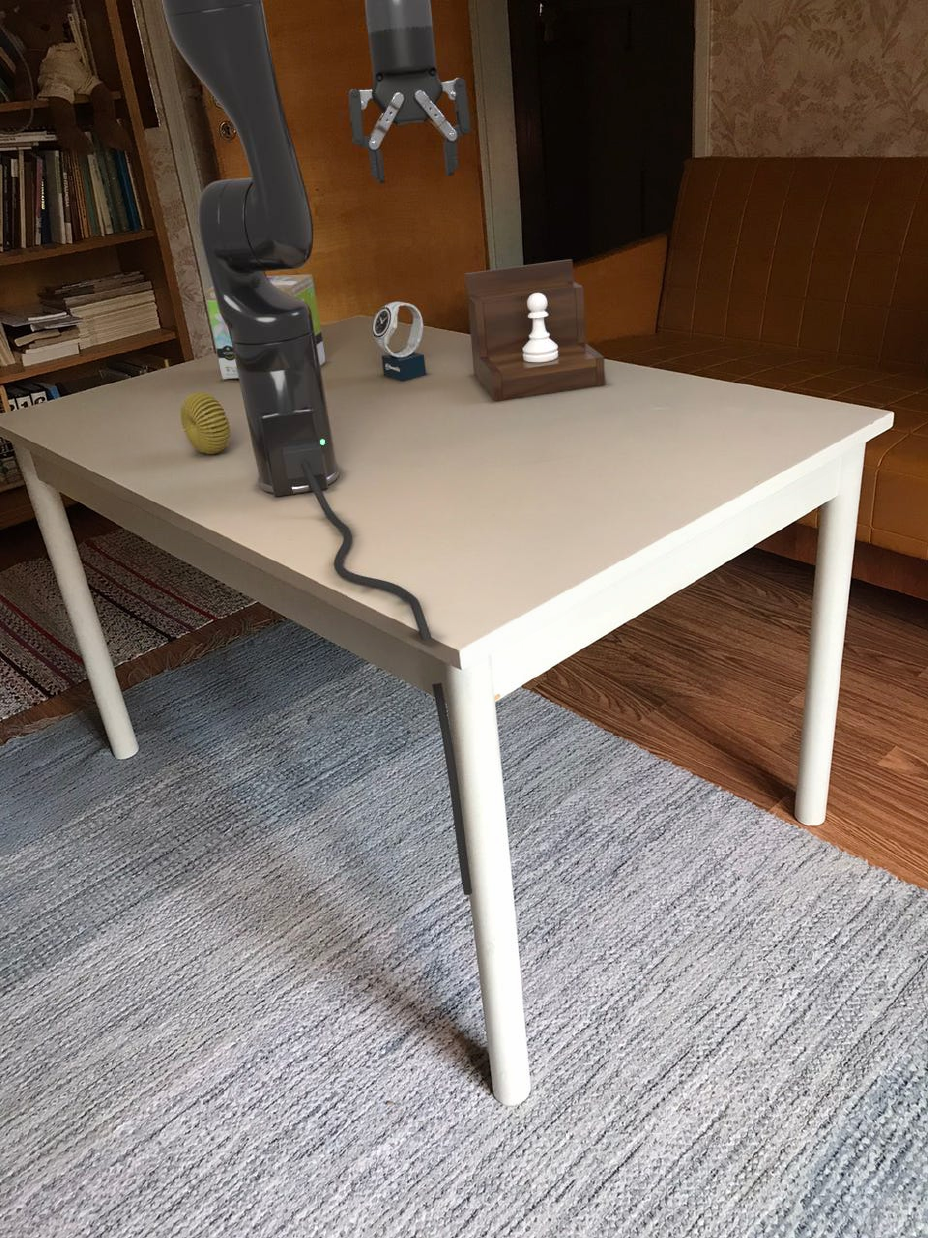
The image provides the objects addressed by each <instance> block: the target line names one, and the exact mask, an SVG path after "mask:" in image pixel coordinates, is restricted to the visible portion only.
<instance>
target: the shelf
mask: <svg viewBox="0 0 928 1238" xmlns="http://www.w3.org/2000/svg"><path fill="white" fill-rule="evenodd" d="M573 261H574V260H573V259H571V258H570V259H562V260H555V261H547V262H540V263H534V264H533V263H531V264H524V265H518V266H517V265H516V266H509V267H502V268H496V269H488V270H480V271H473V272H465V273H464V278H465V279H464V280H465V290H466V300H467V310H468V312H467V313H468V322H469V323H468V324H469V331H470V333H469V334H470V343H471V344H470V345H471V353H472V355H471V356H472V363H473V364H472V366H473V374H474V375H473V376H474V377H475V378H476V380H477V381H478V382H479V383H480V384H481V386H482V387H483V388H484V390H485V391H486V392H487V393H488V395H489V396H490V397H491V399H492V400H493V401H494V402H500V401H507V400H514V399H521V398H526V397H533V396H539V395H547V394H553V393H561V392H567V391H574V390H581V389H586V388H587V389H588V388H593V387H600V386H605V385H606V374H605V373H606V371H605V368H606V367H605V356H604V355H602V354H601V353H599V351H597V350H595V349H594V348H593V347H591V345H590V344H588V343H586V342H587V341H586V340H587V339H586V319H585V318H586V316H585V315H586V313H585V293H584V292H585V291H584V290H585V289H584V286H583V285H581V284H580V283H578V282H576V281H574V264H573ZM534 293H541V294H543V295H544V296H545V297H546V298H547V307H546V309H545V310H544V311H546V312H547V313H548V316H546V317H544V324H545V329H546V331H547V332H548V333H549V334H550V336H549V338H550V339H551V340H552V341H553V342H554V343H556V344H557V345H558V348H557V350H558V357H557V358H556V359H554V360H552V361H548V362H541V363H531V362H526V361H524V360H523V353H524V352H523V351H522V349H523V347H524V346H525V345H526V344H527V342H528V341H529V340H530V338H529V335H530V334H531V333H532V328H533V318H529V317H528V315H529V313H530V312H531V311H530V310H529V309H528V307H527V300H528V298H529V296H530V295H532V294H534Z"/></svg>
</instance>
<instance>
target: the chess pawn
mask: <svg viewBox="0 0 928 1238" xmlns="http://www.w3.org/2000/svg"><path fill="white" fill-rule="evenodd" d="M527 307H528V309H529V310H530V311H531V312H530V313H529V315H528V317H529V318H533V328H532V333H531V334H530V335H529V338H530V340H529V341H528V342H527V344H526V345H525V346H524V347H523V349H522V351H523V352H524V353H523V360H524V361H526V362H531V363H541V362H548V361H552V360H554V359H556V358H557V357H558V350H557V348H558V345H557V344H556V343H554V342H553V341H552V340H551V339H550V338H549V336H550V334H549V333H548V332H547V331H546V329H545V324H544V317H546V316H548V313H547V312H546V311H544V310H545V309H546V307H547V298H546V297H545V296H544V295H543V294H541V293H534V294H532V295H530V296H529V298H528V300H527Z"/></svg>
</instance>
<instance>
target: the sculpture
mask: <svg viewBox="0 0 928 1238" xmlns="http://www.w3.org/2000/svg"><path fill="white" fill-rule="evenodd" d="M180 421H181V426H182V429H183V432H184V434H185V437H186V438H187V440H188V441H189V443H190V444H191V445H192V447H193V448H195V450H197V451H199V452H200V453H203V454H206V455H215V454H218V453H221V452H222V451H224V450H225V448H226V447H227V445H228V444H229V441H230V438H231V427H230V426H231V425H230V422H229V418H228V415H227V414H226V411H225V409H224V407H223V406H222V405H221V403H220V402H219V401H218V400H217V399H216V398H215V397H214V396H213V395H210V394H208V393H205V392H195V393H193V394H190V395H188V396H187V397H186V398H185V399H184V401H183V402H182V405H181V408H180Z"/></svg>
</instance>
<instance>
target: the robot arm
mask: <svg viewBox="0 0 928 1238" xmlns="http://www.w3.org/2000/svg"><path fill="white" fill-rule="evenodd" d="M160 1H161V6H162V10H163V13H164V17H165V21H166V25H167V29H168V32H169V34H170V37H171V39H172V41H173V43H174V45H175V47H176V49H177V50H178V52H179V54H180V55H181V57H182V58H183V59H184V61H185V62H186V64H187V65H188V66H189V68H190V69H191V70H192V71H193V73H194V74H195V76H196V77H197V78H198V79H199V81H200V82H201V83H202V85H204V87H205V88H206V89H207V91H208V92H209V93H210V94H211V96H212V97H213V98H214V99H215V101H216V103H218V105H219V106H220V107H221V109H222V110H223V111H224V113H225V115H226V116H227V117H228V119H229V120H230V122H231V124H232V126H233V127H234V130H235V131H236V134H237V136H238V138H239V141H240V143H241V147H242V149H243V152H244V155H245V158H246V163H247V165H248V168H249V173H250V177H237V178H227V179H219V180H214V181H212V182H211V183H209V184H208V185H206V186H205V187H204V189H203V190H202V192H201V195H200V198H199V202H198V207H197V208H198V210H197V219H198V220H197V222H198V231H199V237H200V243H201V246H202V251H203V253H204V258H205V259H204V260H205V262H206V265H207V269H208V274H209V276H210V277H209V278H210V280H211V285H212V287H213V289H214V292H215V296H216V300H217V304H218V308H219V311H220V313H221V316H222V318H223V320H224V321H225V323H226V325H227V327H228V329H229V333H230V338H231V342H232V347H233V352H234V357H235V362H236V367H237V372H238V377H239V378H238V381H239V387H240V392H241V396H242V401H243V405H244V410H245V416H246V420H247V425H248V429H249V435H250V440H251V444H252V449H253V454H254V458H255V459H254V460H255V463H256V469H257V472H258V483H259V486H260V488H261V490H263V491H264V492H267V493H271V494H273V496H274V497H283V496H290V495H295V494H296V495H297V494H303V493H309V492H313V494H314V496H315V498H316V500H317V502H318V504H319V506H320V507H321V510H322V511H323V513H324V515H325V516H326V518H327V520H329V522H330V523H331V524H332V525H333V526H334V527H335V528H336V529H338V530H339V531H340V532H341V534H342V535H343V541H342V544H341V545H340V548H339V549H338V551H337V552H336V554H335V557H334V559H333V565H334V569H335V571H336V573H337V574H338V576H340V578H343V579H344V580H345V581H348V582H350V583H353V584H356V585H360V586H363V587H369V588H374V589H379V590H382V591H386V592H389V593H391V594H393V595H396V596H397V597H399V598H401V599H402V600H403V601H405V602H406V603H407V604H408V605H409V606H410V609H411V611H412V614H413V617H414V620H415V624H416V626H417V628H418V632H419V635H420V639H421V640H422V641H424V642H428V641H431V640H432V635H431V631H430V628H429V626H428V622H427V620H426V618H425V613H424V611H423V608H422V605H421V603H420V601H419V599H418V598H417V597H416V596H415V595H414V594H412V593H411V592H410V591H408V590H406V589H405V588H403V587H402V586H401V585H398V584H395V583H393V582H390V581H387V580H383V579H380V578H373V577H370V576H365V575H361V574H358V573H354V572H351V571H349V570H348V569H347V568H346V567H345V566H344V559H345V557H346V556H347V554H348V552H349V550H350V548H351V546H352V543H353V535H352V532H351V529H350V528H349V527H348V525H346V524H345V523H344V522H343V521H342V520H341V519H339V517H338V516H337V515H336V514H335V513H334V511H333V510H332V508H331V506H330V504H329V503H328V501H327V499H326V497H325V495H324V493H323V490H327V489H329V485H331V484H332V483H333V482H335V481H336V480H337V479H338V478H339V476H340V471H339V466H338V463H337V459H336V452H335V446H334V440H333V435H332V428H331V422H330V416H329V410H328V405H327V398H326V392H325V387H324V386H325V385H324V381H323V375H322V369H321V366H320V362H319V356H318V349H317V343H316V337H315V331H314V325H313V319H312V314H311V310H310V307H309V306H308V305H307V304H306V303H305V302H304V301H302V300H300V299H298V298H295V297H293V296H290V295H288V294H286V293H284V292H282V291H281V290H279V289H278V288H276V287H275V286H274V285H273V284H272V283H271V282H270V281H269V280H268V278H267V276H268V275H267V274H266V272H273V271H274V272H278V271H279V272H280V271H292V270H296V269H299V268H302V267H303V266H305V265H306V264H307V263H308V262H309V259H310V257H311V256H312V251H313V246H314V224H313V217H312V216H313V215H312V209H311V205H310V200H309V197H308V193H307V189H306V184H305V181H304V178H303V175H302V171H301V168H300V163H299V160H298V157H297V153H296V150H295V146H294V143H293V139H292V135H291V131H290V128H289V125H288V121H287V118H286V113H285V110H284V107H283V102H282V97H281V92H280V87H279V84H278V83H279V82H278V79H277V75H276V69H275V64H274V59H273V54H272V50H271V43H270V40H269V34H268V28H267V21H266V15H265V10H264V3H263V0H160ZM364 9H365V27H366V29H367V36H368V45H369V53H370V60H371V69H372V77H373V84H372V86H371V87H372V88H371V89H358V88H352V89H350V90H349V92H348V104H349V108H348V109H349V120H350V133H351V141H352V144H354V145H356V146H359V147H363V148H365V149H366V150H367V152H368V156H369V157H368V159H369V165H370V174H371V176H372V178H373V179H375V180H377V183H378V184H385V183H386V177H385V169H384V161H383V152H382V149H380V145H381V143H382V141H383V139H384V138H385V135H386V134H387V132H388V131H389V129H390V127H391V125H392V124H393V125H396V126H405V125H408V124H410V123H412V124H424V123H425V122H427V121H429V122H430V123H431V124H432V125H433V127H435V129H437V130H438V132H439V133H440V134H441V136H442V137H443V138H444V142H442V146H443V147H442V148H443V157H444V168H445V175H446V176H447V177H452V176H454V175H455V171H457V170H458V168H459V156H458V140H459V139H460V138H461V137H463V136H464V135H467V134H470V133H471V131H472V124H471V117H470V110H469V108H470V107H469V103H468V102H469V100H468V95H467V88H466V87H467V86H466V81H465V79H463V78H461V77H456V78H454V79H452V80H448V81H441V80H440V78H439V75H438V69H437V58H436V46H435V36H434V35H435V34H434V26H433V15H432V14H433V13H432V4H431V0H364ZM443 92H444V93H446V95H447V97H448V99H449V100H450V101H453V104H454V110H455V118H456V125H454V126H452V125H451V123H449V121H447V119H446V117H445V116H444V115H443V113H441V111H440V110H439V109H438V108H437V104H438V102H439V100H440V98H441V96H442V94H443ZM370 100H372V101H373V102H374V104H375V105H376V106H377V107H378V109H379V110H380V112H381V114H380V115H379V118H378V119H377V121H376V123H375V125H374V128H373V129H372V132H371V134H370V136H367V135H364V125H363V112H362V111H363V110H366V108H367V107H368V102H369V101H370ZM431 686H432V690H433V697H434V703H435V708H436V713H437V717H438V723H439V728H440V729H439V730H440V734H441V740H442V748H443V753H444V758H445V766H446V771H447V778H448V786H449V793H450V801H451V808H452V816H453V825H454V832H455V839H456V840H455V842H456V847H457V855H458V863H459V871H460V877H461V878H460V879H461V885H462V891H463V895H465V896H470V895H472V894H473V888H472V882H471V881H472V880H471V874H470V868H469V867H470V866H469V859H468V851H467V843H466V834H465V827H464V819H463V810H462V801H461V794H460V785H459V779H458V773H457V772H458V771H457V765H456V759H455V758H456V757H455V751H454V745H453V740H452V733H451V728H450V721H449V715H448V710H447V705H446V699H445V693H444V689H443V682H437V683H432V684H431Z"/></svg>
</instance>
